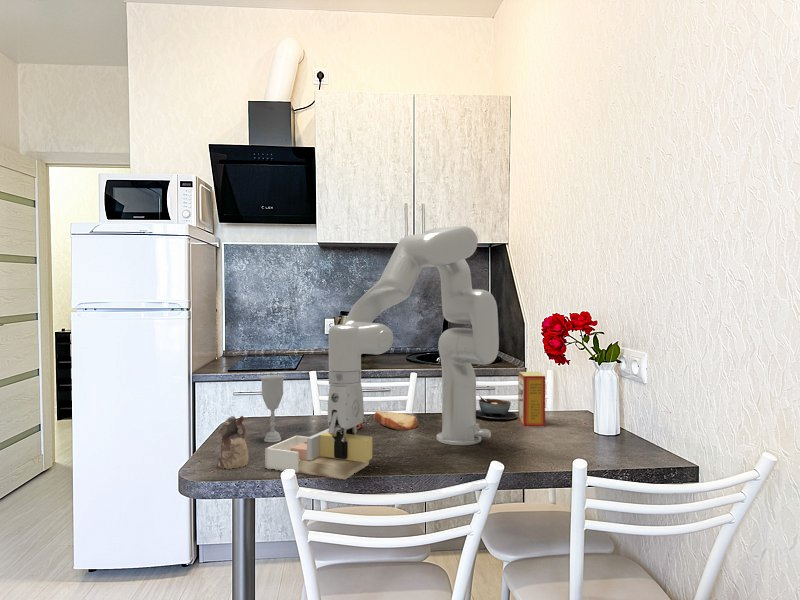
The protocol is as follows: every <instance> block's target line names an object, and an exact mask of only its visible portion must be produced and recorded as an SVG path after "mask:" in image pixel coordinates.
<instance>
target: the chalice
mask: <svg viewBox="0 0 800 600" xmlns="http://www.w3.org/2000/svg"><path fill="white" fill-rule="evenodd" d="M259 379H260V380H261V381H260V382H261V397H262V399H263V402H264V404H265V406H266V408H267V410H270V416H269V418H270V423H269V425H270V430H269V431H268V432H267V433H266V434H265V436H264V439H263V440H264V442H267V443H275V442H276V443H277V442H281V440H282V437H281V435H280V433H279V432H278V431H276V429H275V425H277V424H276V421H275V420H276V419H275V418H276V414H275V410H277V409H279V406H280V403H281V401H282V398H283V395H284V380H285V375H282V374H267V375H261V376H259Z"/></svg>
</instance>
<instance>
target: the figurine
mask: <svg viewBox="0 0 800 600" xmlns="http://www.w3.org/2000/svg"><path fill="white" fill-rule="evenodd" d="M245 419H246V418H245V417H244V416H243V415H240V416H239V417H238V419H237V418H236V417H235V415H234V416H233V415H230V416H229V417H228V418H226V420H224V422H223V424H222V426H221V428H220V430H219V431H218V433H220V441H221V444H220V450H219V455H218V460H217V466H218V467H219V468H220V469H222V468H223V470H224V468H226V469H225V470H233V469H232V468H235V469H240V468H239V467H241V468H243V466H244V467H246V466H247V464H249V460H250V459H249V450H248V445H247V442H246V439H245V436H246V430H247V429H246V427H245V425H244V424H243V421H244V420H245ZM239 429H241V430H242V433H240V432H238V431H239ZM245 465H246V466H245Z"/></svg>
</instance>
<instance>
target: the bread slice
mask: <svg viewBox="0 0 800 600" xmlns="http://www.w3.org/2000/svg"><path fill="white" fill-rule="evenodd" d="M373 419H374V420H375V421H376V422H378V424H380V425H381V426H384V427H386V428H388V429H392V430H397V431H403V432H404V431H412V430H416V428H417V427H419V424H420V423H419V421H418V419H417V417H416V416H415V415H412V414H405V413H401V412H392V411H379V410H378V411H377V410H376V411H375V412H374V416H373Z"/></svg>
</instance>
